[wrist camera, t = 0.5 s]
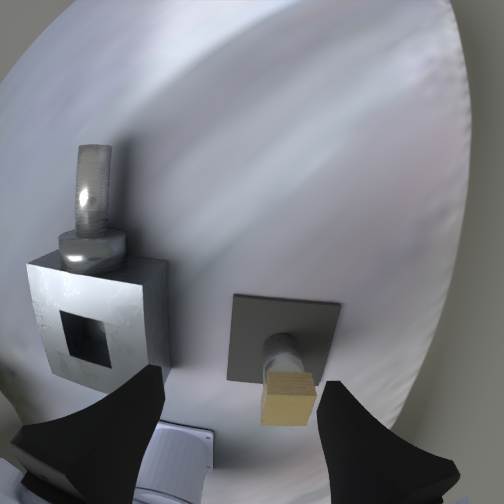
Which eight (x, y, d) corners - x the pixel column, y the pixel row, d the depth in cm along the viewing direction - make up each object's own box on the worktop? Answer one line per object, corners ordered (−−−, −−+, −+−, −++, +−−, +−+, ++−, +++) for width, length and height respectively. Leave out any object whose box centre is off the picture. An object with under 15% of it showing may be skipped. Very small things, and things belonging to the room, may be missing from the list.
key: (295, 362, 21) (306, 426, 14) (260, 360, 21) (260, 424, 14) (301, 334, 20) (317, 395, 14) (265, 331, 20) (267, 394, 14)
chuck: (170, 368, 22) (154, 407, 17) (78, 345, 22) (52, 374, 17) (175, 148, 18) (147, 139, 13) (65, 152, 18) (24, 150, 13)
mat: (317, 383, 22) (318, 386, 22) (227, 377, 22) (226, 380, 22) (339, 303, 20) (340, 306, 20) (233, 294, 20) (233, 296, 20)
